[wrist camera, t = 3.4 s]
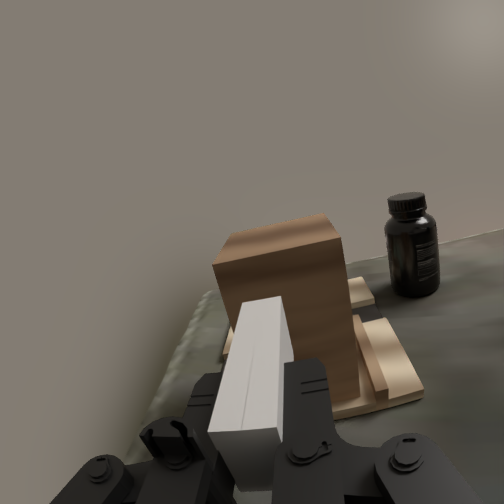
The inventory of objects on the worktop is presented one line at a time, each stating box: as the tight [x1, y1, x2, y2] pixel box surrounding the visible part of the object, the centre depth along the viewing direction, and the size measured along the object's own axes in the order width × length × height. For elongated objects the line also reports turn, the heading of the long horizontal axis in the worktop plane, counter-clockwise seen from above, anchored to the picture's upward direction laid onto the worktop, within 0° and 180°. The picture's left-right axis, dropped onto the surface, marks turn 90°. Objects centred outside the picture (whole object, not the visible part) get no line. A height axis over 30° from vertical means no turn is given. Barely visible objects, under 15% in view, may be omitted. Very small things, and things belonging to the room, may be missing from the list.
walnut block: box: [212, 213, 361, 403], centre depth 25 cm, size 8×8×13 cm
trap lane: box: [221, 277, 424, 420], centre depth 33 cm, size 24×18×4 cm
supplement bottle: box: [385, 192, 440, 297], centre depth 36 cm, size 7×7×12 cm
